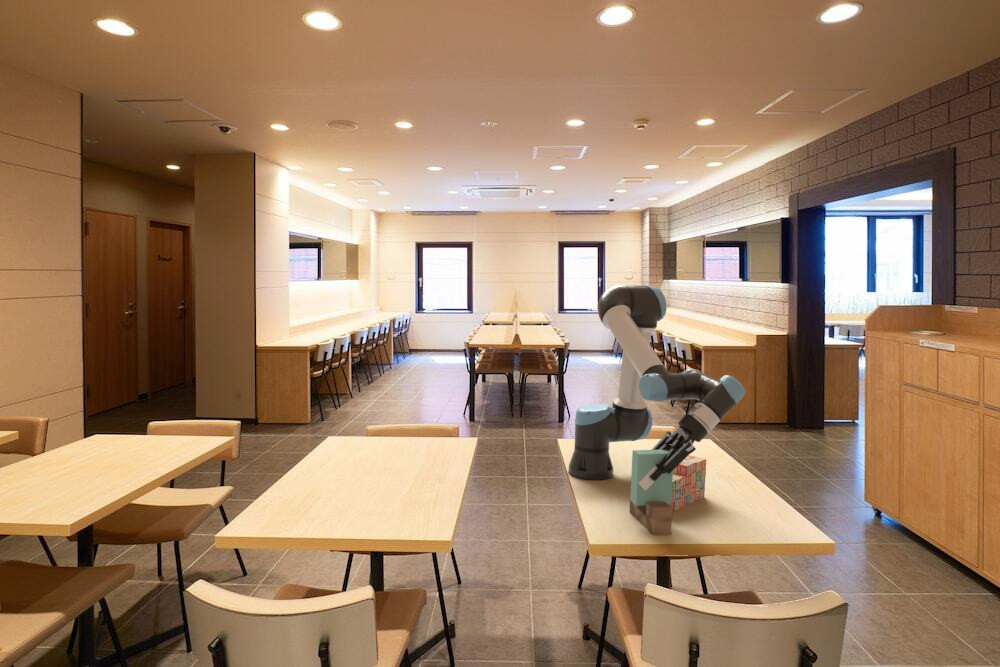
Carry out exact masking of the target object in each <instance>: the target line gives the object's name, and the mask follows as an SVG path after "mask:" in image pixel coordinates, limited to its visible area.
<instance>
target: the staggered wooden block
mask: <svg viewBox="0 0 1000 667" xmlns="http://www.w3.org/2000/svg"><path fill="white" fill-rule="evenodd" d="M629 513H630V514H631V515H632V516H633V517H634V518H635V519H636V520H637V521H638V522H639V523H640V524H641V525H642V526H643V527H644V526H645V527H646V528H647V529H648V530H647V529H646V528H645V527H644V528H645V529H646V530H647V531H649V533H650V534H651V535H653V536H658V535H659V536H660V535H662V536H663V535H671V534H672V526H673V525H672V524H673V512H672V507H671V506H669V505H668V504H667V503H666V502H664V501H656V502H646V505H644V506H636V505H635V504H634V503H633V502H631V489H630V494H629Z"/></svg>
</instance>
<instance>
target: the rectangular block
mask: <svg viewBox="0 0 1000 667" xmlns="http://www.w3.org/2000/svg"><path fill="white" fill-rule="evenodd" d="M668 452H669V450H652V449H637V450H636V449H633V450H632V456H631V458H632V459H631V460H632V461H631V480H630V481H631V482H630V490H631V502H633V503H634V504H635V505H636V506H644V505H646V502H656V501H664V502H666V503H667V504H671V500H672V478H673V471H672V472H671V473H670V474H668V473H664V474H662V475H661V476H660V477H658V478H657V480H656V481H655V482H654V483H653V484H652V485H651V486H650V487H649V488H648V489H647V490H646V491H645V490H644V489H643V488H642V487H641V486H640V485H639V484H638V483H639V482H640V481H641V479H642V478H643V477H644V476H645V475H646V474H647V473H648V472H649V471H650V470H651V469H652V468H653V467H654V466H656V464H659V463H660V462H661V461H662V459H663V458H664V457H665V456H666V455H667V453H668ZM656 467H657V466H656ZM657 468H658V467H657Z"/></svg>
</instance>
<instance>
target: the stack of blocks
mask: <svg viewBox="0 0 1000 667" xmlns="http://www.w3.org/2000/svg"><path fill="white" fill-rule="evenodd" d="M706 468H707V459H706V458H703V457H699V456H694V455H691V454H689V455H688V456H687V457H686V458H685V459H684V460H683V461H682V462H681V463H680V464H679V465H678V466H677V467H676V468H675V469H674V470H673V478H672V500H671V504H668V505H669V506H671V507H672V513H673V512H675V511H677V510H679V509H682V508H684V507H686V506H688V505H690V504H692V503H695V502H697V501H699V500H701V499H703V498H705V491H706V487H705V486H706V485H705V484H706V476H707V475H706V474H707V469H706Z"/></svg>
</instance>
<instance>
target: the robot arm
mask: <svg viewBox="0 0 1000 667" xmlns="http://www.w3.org/2000/svg"><path fill="white" fill-rule="evenodd" d="M667 308H668V307H667V299H666V298H665V295H664V293H663V292H662V290H661V289H660V288H658V287H657V286H655V285H654V286H653V285H652V286H651V285H646V284H645V285H644V284H643V285H642V284H641V285H638V284H637V285H636V284H634V285H633V284H631V285H630V284H628V285H627V284H625V285H624V284H615V285H613V286H610V287H608V288H607V289H605V290H604V292H602V293H601V295H600V297H599V299H598V303H597V313H598V314H597V315H598V317H599V319H600V322H601V323H602V325H603V326H604V327H605V328H606V329H609V330H610V332H611V333H612V334H613V336H614V338H615V340H616V341H617V342H618V344H619V346H620V347H621V348H622V358H621V366H620V375H619V384H618V393H617V397H615V398H614V399H613V400H612V407H611V406H610V405H609V404H606V403H602V402H601V403H596V402H595V403H588V404H584V405H580V406H579V407H578V408H577V410H576V411H575V412H576V413H575V419H574V424H575V425H574V449H573V450H574V451H573V452H572V456H571V458H570V461H569V463H568V474H570V475H571V476H573V477H575V478H579V479H584V480H589V481H590V480H599V481H600V480H606V479H610V478H612V477H614V465H613V463H612V459H611V455H610V443H616V442H618V443H619V442H635V441H640V440H644V439H645V438H647V437H648V435H649V434H650V432H651V430H652V427H653V417H652V411H651V410H650V409H649V408H648V404H647V402H646V401H649V402H651V401H652V402H653V401H655V402H661V401H675V400H676V401H677V400H679V401H680V400H697V401H698V402H697V403H694V406H693V407H692V408H691V409H690V410H689V411H688V413H687V414H685V415H684V416H683V417H682V418H681V419H680V420H679V421H678V423H677V424H678V426H679V428H678V429H676V430H675V431H674V432H671V431H670V430H668V431H666V432H665V434H664V435H663V437H662V438H660V440H659V441H658V442H657V444H655V446H653V447H652V448H651V450H669V452H668V453H667V455H666V456H665V457H664V458H663V459H662V461H661V462H660V463H659V464H656V466H657V467H658V468H657V467H656V466H654V467H653V468H652V469H651V470H650V471H649V472H648V473H647V474H646V475H645V476H644V477H643V478H642V479H641V481H640V482H639V483H638V484H639V485H640V486H641V487H642V488H643V489H644V490H645V491H646V490H647V489H648V488H649V487H650V486H651V485H652V484H653V483H654V482H655V481H656V480H657V478H658V477H660V476H661V475H662V474H664V473H668V474H670V473H671V472H672V471H673V470H674V469H675V468H676V467H677V466H678V465H679V464H680V463H681V462H682V461H683V460H684V459H685V458H686V457H687V456H688V455H691V454H693V453H694V452H695V451H696V447H695V446H694V443H695V442H697V443H699V442H702V440H703V439H704V438H705V437H706V436H707V435H708V432H711V431H712V430H713V429H714V428H715V427H716V426H717V425H718V424H719V422H720V421H722V419H724V417H726V415H727V414H729V412H730V411H731V410H732V409H734V408H735V407H736V405H738V404H739V403H740V401H741V400H742V398H744V396H745V395H746V389H745V388H744V386H743V384H742V383H741V382H740V381H739V380H737V379H736V378H735V377H733V376H731V375H730V374H725V375H723V376H722V377H720V378H719V379H716V378H714V377H712V376H710V375H708V374H706V373H705V372H703V371H701V370H698V369H696V368H695V369H694V368H687V369H685V370H683V371H681V372H680V373H679V372H675V373H671V372H669V371H668V369H667V368H666V366H665V365H664V363H663V362H662V361H661V359H660V358H659V356H658V355H657V352H655V351H654V349H653V347H652V346H651V338H652V332H653V331H654V330H655V329H657V327H658V322H660V321H661V320H663V319H664V317H665V316H666V314H667Z"/></svg>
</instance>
